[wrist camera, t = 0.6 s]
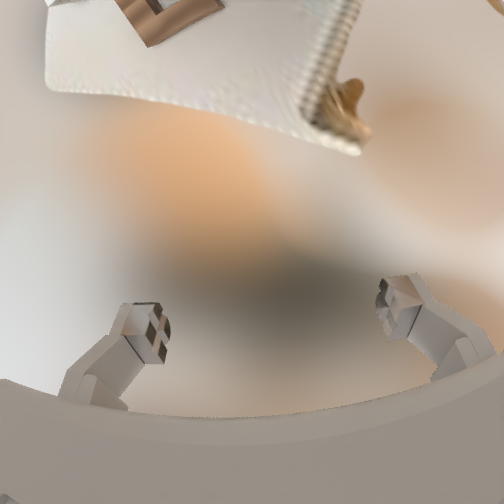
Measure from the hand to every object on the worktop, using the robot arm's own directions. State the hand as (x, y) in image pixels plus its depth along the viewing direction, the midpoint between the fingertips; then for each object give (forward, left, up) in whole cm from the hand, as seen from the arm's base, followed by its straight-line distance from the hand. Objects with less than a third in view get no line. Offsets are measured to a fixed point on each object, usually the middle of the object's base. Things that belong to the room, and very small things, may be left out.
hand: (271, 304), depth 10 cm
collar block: (-21, -11, -47) cm, 52 cm away
